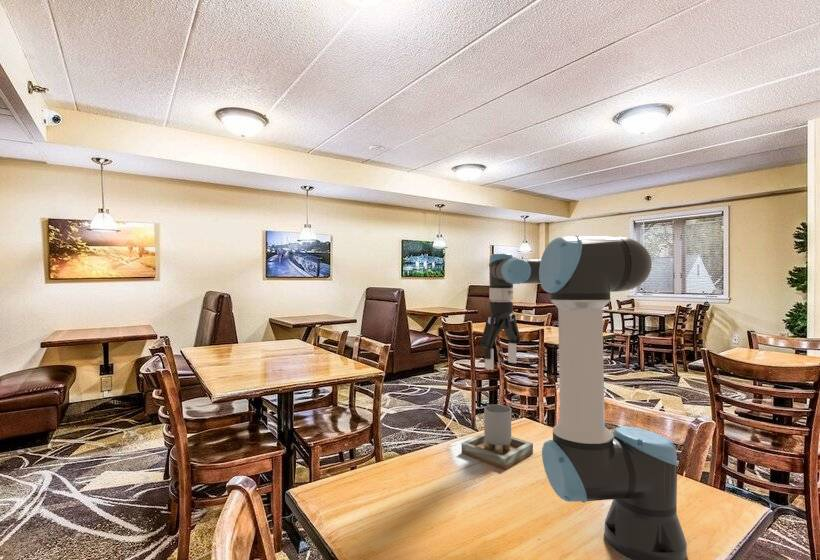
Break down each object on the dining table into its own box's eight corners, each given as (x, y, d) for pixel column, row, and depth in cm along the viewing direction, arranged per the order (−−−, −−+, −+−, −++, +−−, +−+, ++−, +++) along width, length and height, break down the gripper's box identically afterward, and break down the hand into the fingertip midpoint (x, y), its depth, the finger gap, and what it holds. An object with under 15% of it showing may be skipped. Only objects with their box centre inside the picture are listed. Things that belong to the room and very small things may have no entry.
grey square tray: (504, 469, 121) (504, 455, 121) (461, 453, 133) (461, 439, 133) (532, 453, 132) (532, 440, 132) (490, 439, 144) (490, 427, 144)
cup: (509, 435, 136) (509, 404, 136) (513, 445, 128) (513, 413, 128) (483, 434, 137) (483, 404, 137) (485, 444, 129) (485, 412, 129)
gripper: (488, 303, 125) (488, 374, 125) (530, 299, 143) (530, 361, 143) (468, 302, 130) (468, 370, 131) (511, 298, 148) (511, 358, 148)
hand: (501, 365), depth 137 cm, fingers open, 13 cm apart
